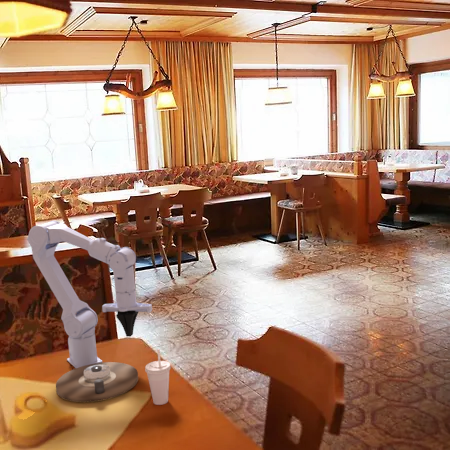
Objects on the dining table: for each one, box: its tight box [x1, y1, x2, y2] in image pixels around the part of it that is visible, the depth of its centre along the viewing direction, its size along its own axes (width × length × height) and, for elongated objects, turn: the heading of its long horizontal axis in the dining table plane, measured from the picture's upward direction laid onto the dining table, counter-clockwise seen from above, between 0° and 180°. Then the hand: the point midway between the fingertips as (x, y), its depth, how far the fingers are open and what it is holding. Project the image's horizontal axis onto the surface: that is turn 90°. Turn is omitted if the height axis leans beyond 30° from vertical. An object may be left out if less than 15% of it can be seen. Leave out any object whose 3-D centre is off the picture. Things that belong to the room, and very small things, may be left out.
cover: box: [84, 365, 110, 384], centre depth 161 cm, size 7×7×3 cm
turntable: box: [55, 361, 139, 403], centre depth 161 cm, size 22×22×4 cm
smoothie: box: [144, 348, 171, 406], centre depth 149 cm, size 6×6×14 cm
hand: (129, 335), depth 172 cm, fingers closed
